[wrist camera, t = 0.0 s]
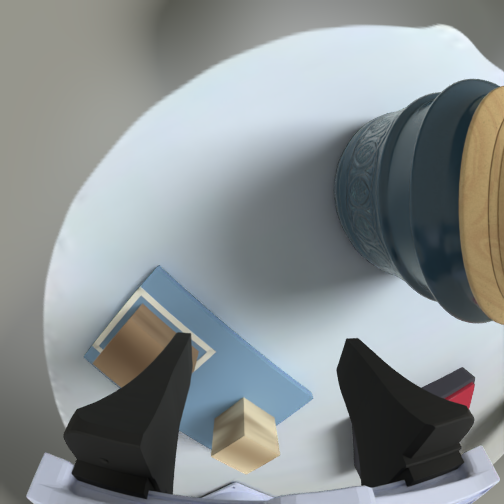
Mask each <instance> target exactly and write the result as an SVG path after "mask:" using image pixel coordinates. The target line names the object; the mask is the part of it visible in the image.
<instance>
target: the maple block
mask: <svg viewBox="0 0 504 504" xmlns="http://www.w3.org/2000/svg"><path fill="white" fill-rule="evenodd" d="M279 455H280V451H279V444H278V438H277V431H276V424H275V418H274V417H273V416H271V415H270V414H268V413H267V412H265V411H264V410H262V409H261V408H259V407H258V406H256V405H255V404H253V403H252V402H250V401H249V400H247V399H246V398H244V397H243V398H242V399H240V400H239V401H238V402H237V403H235V404H234V405H233V406H231V407H230V408H229V409H227V410H226V411H224V412H223V413H222V414H220V415H219V416H218V417H216V418H215V419H214V429H213V440H212V451H211V457H213V458H215V459H216V460H218V461H220V462H222V463H224V464H226V465H228V466H230V467H232V468H234V469H236V470H238V471H240V472H242V473H244V474H248V473H250V472H252V471H254V470H255V469H257V468H259V467H261V466H263V465H264V464H266V463H268V462H269V461H271V460H273V459H274V458H276V457H278V456H279Z"/></svg>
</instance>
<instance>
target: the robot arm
mask: <svg viewBox="0 0 504 504" xmlns="http://www.w3.org/2000/svg"><path fill="white" fill-rule="evenodd" d="M192 368H193V362H192V342H191V333H183V332H177V333H176V334H175V335H174V337H173V338H172V339H171V341H170V342H169V343H168V345H167V346H166V347H165V348H164V349H163V351H162V352H161V353H160V354H159V355H158V356H157V357H156V358H155V359H154V361H153V362H152V363H151V364H150V365H148V366H147V367H146V368H145V369H144V370H143V371H142V372H141V373H140V374H139V375H138V376H137V377H135V378H134V379H133V380H132V381H130V382H129V383H127V384H126V385H125V386H123V387H122V388H120V389H119V390H117V391H116V392H114V393H112V394H111V395H109V396H107V397H105V398H103V399H101V400H99V401H97V402H95V403H92V404H90V405H87V406H84V407H82V408H79V409H77V410H76V411H75V413H74V414H73V416H72V418H71V419H70V421H69V424H68V426H67V428H66V430H65V432H64V440H65V442H66V444H67V445H68V447H69V448H70V450H71V451H72V453H73V454H74V455H75V457H76V458H77V460H76V463H75V465H73V464H72V463H71V462H69V461H67V460H64V459H61V458H59V457H56V456H54V455H51V454H49V453H44V455H43V457H42V460H41V462H40V464H39V467H38V469H37V471H36V474H35V476H34V478H33V481H32V483H31V486H30V488H29V491H28V493H27V498H28V499H29V500H30V501H31V502H33V503H34V504H472V503H473V502H474V501H476V500H477V499H478V498H480V496H482V495H483V494H485V493H486V492H487V491H488V490H490V489H491V488H492V487H493V486H494V485H496V484H497V483H498V482H499V481H500V478H499V476H498V475H497V472H496V471H495V469H494V467H493V465H492V463H491V461H490V459H489V457H488V455H487V454H486V452H485V450H484V448H483V446H482V445H480V446H478V447H476V448H473V449H471V450H469V451H467V452H465V453H463V454H462V455H460V453H459V450H460V449H461V445H460V443H459V442H460V441H461V440H462V438H463V437H464V436H465V435H466V434H467V432H468V431H469V430H470V428H471V427H472V425H473V423H474V417H473V415H472V414H471V412H470V410H469V409H468V407H467V406H466V405H462V404H459V403H455V402H452V401H449V400H446V399H444V398H441V397H439V396H436V395H434V394H432V393H430V392H428V391H426V390H424V389H422V388H420V387H419V386H417V385H415V384H414V383H412V382H411V381H409V380H407V379H406V378H404V377H403V376H402V375H400V374H399V373H398V372H396V371H395V370H394V369H393V368H391V367H390V366H389V365H388V364H386V363H385V362H384V361H383V360H382V359H381V358H380V357H378V356H377V355H376V354H375V353H374V352H373V351H372V350H371V349H370V348H369V347H367V346H366V345H365V344H364V343H363V342H362V341H361V340H359V339H358V338H351V339H346V341H345V345H344V348H343V351H342V354H341V357H340V361H339V364H338V367H337V376H338V381H339V386H340V390H341V393H342V396H343V398H344V401H345V404H346V407H347V410H348V413H349V416H350V419H351V422H352V425H353V428H354V433H355V438H356V443H357V449H358V455H359V463H360V472H361V486H353V487H347V488H341V489H334V490H327V491H319V492H309V493H297V494H289V495H282V496H278V497H275V498H274V497H271V496H269V495H266V494H263V493H261V492H258V491H256V490H254V489H251V488H249V487H246V486H244V485H242V484H240V483H236V482H235V483H232V484H230V485H228V486H226V487H224V488H222V489H220V490H218V491H215V492H213V493H211V494H209V495H207V496H204V497H202V498H196V497H188V496H180V495H173V480H174V468H175V458H176V449H177V441H178V433H179V427H180V422H181V418H182V414H183V411H184V407H185V403H186V399H187V395H188V391H189V388H190V383H191V376H192Z"/></svg>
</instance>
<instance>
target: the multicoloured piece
mask: <svg viewBox="0 0 504 504" xmlns="http://www.w3.org/2000/svg"><path fill="white" fill-rule="evenodd" d="M474 382H475V377H474V376H473V375H472V374H470V373H469V372H468V371H467V370H465V369H464V368H463V367H462V368H460V369H458V370H456V371H454V372H452V373H450V374H448V375H446V376H444V377H442V378H440V379H438V380H436V381H434V382H432V383H430V384H428V385H426V386H424V387H422V389H424V390H426V391H428V392H430V393H432V394H434V395H436V396H439V397H441V398H444V399H446V400H449V401H452V402H455V403H459V404H462V405H466V406H467V407H468V409H469V407H470V403H471V399H472V395H473V391H474V386H475V384H474ZM352 430H353V446H354V466H355V468H356V470H357V472H358V474H359V476H360V478H361V472H360V463H359V455H358V449H357V443H356V438H355V433H354V428H353V425H352Z"/></svg>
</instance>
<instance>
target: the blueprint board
mask: <svg viewBox="0 0 504 504" xmlns="http://www.w3.org/2000/svg"><path fill="white" fill-rule="evenodd" d="M142 303H143V304H144V305H145V306H146V307H147V308H148V309H149V310H151V311H152V312H153V313H154V314H155V315H156V316H157V317H158V318H160V319H161V320H162V321H163V322H164V323H165V324H166V325H168V326H169V327H170V328H171V329H172V330H173V331H175V332H176V333H177V332H183V333H191V342H192V346H193V347H194V348H195V349H197V350H198V351H199V353H198V357H197V361H196V366H195V370H194V372H193V373H192V376H191V383H190V388H189V391H188V395H187V399H186V403H185V407H184V411H183V414H182V418H181V422H180V427H179V431H181V432H183V433H184V434H186V435H187V436H189V437H191V438H192V439H194V440H196V441H197V442H199V443H201V444H202V445H204V446H206V447H208V448H209V449H211V450H212V440H213V429H214V419H215V418H216V417H218V416H219V415H220V414H222V413H223V412H224V411H226V410H227V409H229V408H230V407H231V406H233V405H234V404H235V403H237V402H238V401H239V400H240V399H242V398H243V397H244V398H246V399H247V400H249V401H250V402H252V403H253V404H255V405H256V406H258V407H259V408H261V409H262V410H264V411H265V412H267V413H268V414H270V415H271V416H273V417H274V418H275V424H276V426H277V425H278V424H279V423H281V422H282V421H284V420H285V419H286V418H288V417H289V416H291V415H292V414H293V413H295V412H296V411H297V410H299V409H300V408H301V407H303V406H304V405H305V404H307V403H308V402H309V401H311V400H312V399H313V396H312V393H311V392H310V391H309V390H308V389H306V388H305V387H303V386H302V385H301V384H299V383H298V382H297V381H295V380H294V379H293V378H292V377H290V376H289V375H288V374H286V373H285V372H284V371H282V370H281V369H280V368H279V367H277V366H276V365H275V364H273V363H272V362H271V361H270V360H268V359H267V358H266V357H265V356H263V355H262V354H261V353H260V352H258V351H257V350H256V349H255V348H253V347H252V346H251V345H250V344H248V343H247V342H246V341H245V340H244V339H242V338H241V337H240V336H239V335H237V334H236V333H235V332H234V331H233V330H231V329H230V328H229V327H228V326H227V325H226V324H224V323H223V322H222V321H221V320H220V319H218V318H217V317H216V316H215V315H214V314H213V313H211V312H210V311H209V310H208V309H207V308H206V307H205V306H203V305H202V304H201V303H200V302H199V301H198V300H197V299H195V298H194V297H193V296H192V295H191V294H190V293H189V292H188V291H186V290H185V289H184V288H183V287H182V286H181V285H180V284H179V283H178V282H177V281H175V280H174V279H173V278H172V277H171V276H170V275H169V274H168V273H167V272H166V271H165V270H164V269H162V268H161V267H160V266H158V267H157V268H156V269H155V270H154V271H153V272H152V273H151V274H150V276H149V277H148V278H147V279H146V280H145V281H144V283H143V284H142V285H141V286H140V287H139V288H138V290H137V291H136V292H135V293H134V294H133V296H132V297H131V298H130V299H129V300H128V302H127V303H126V304H125V305H124V306H123V308H122V309H121V310H120V311H119V312H118V314H117V315H116V316H115V317H114V319H113V320H112V321H111V322H110V324H109V325H108V326H107V327H106V328H105V330H104V331H103V332H102V334H101V335H100V336H99V337H98V339H97V340H96V341H95V342H94V344H93V345H92V346H91V348H90V349H89V350H88V351H87V353H86V354H85V355H84V358H85V359H86V360H87V361H88V362H90V363H91V364H92V363H93V362H94V361H95V360H96V358H97V357H98V356H99V354H100V353H101V352H102V351H103V349H104V348H105V347H106V346H107V344H108V343H109V342H110V341H111V340H112V338H113V337H114V336H115V335H116V334H117V332H118V331H119V330H120V329H121V328H122V327H123V325H124V324H125V323H126V322H127V321H128V319H129V318H130V317H131V316H132V315H133V314H134V313H135V311H136V310H137V309H138V308H139V307H140V306H141V304H142ZM92 365H93V364H92ZM93 366H94V365H93ZM94 367H95V368H96V369H98V368H97V367H96V366H94ZM98 370H99V369H98ZM99 371H100V370H99ZM100 372H101V371H100ZM101 373H102V374H103V375H105V374H104V373H103V372H101ZM105 376H106V375H105ZM106 377H107V376H106ZM107 378H108V379H109V380H111V379H110V378H109V377H107ZM111 381H112V380H111ZM112 382H113V381H112ZM113 383H114V384H115V385H117V384H116V383H115V382H113ZM117 386H118V385H117ZM118 387H119V388H121V387H120V386H118Z"/></svg>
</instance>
